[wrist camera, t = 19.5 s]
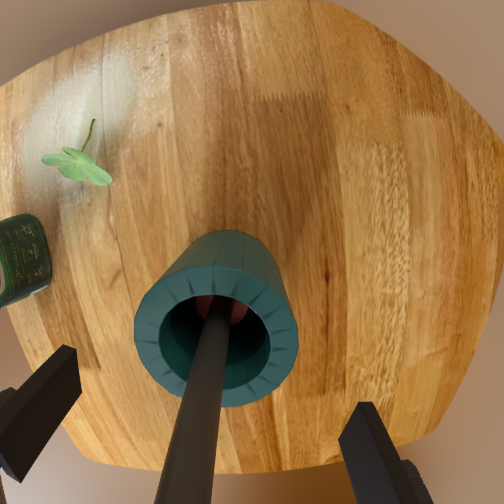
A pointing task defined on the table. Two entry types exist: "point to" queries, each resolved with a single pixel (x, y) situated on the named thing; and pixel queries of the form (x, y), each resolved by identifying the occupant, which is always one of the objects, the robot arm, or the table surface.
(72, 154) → the seedling
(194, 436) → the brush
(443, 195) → the table surface
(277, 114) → the table surface
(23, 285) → the coffee jar
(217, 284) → the cup
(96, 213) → the table surface
